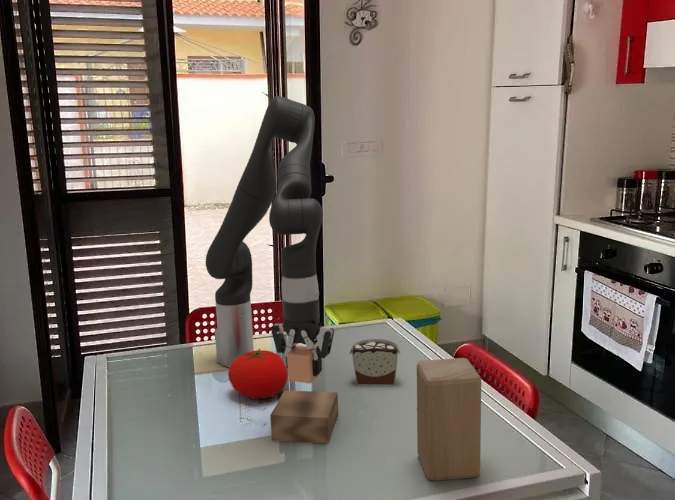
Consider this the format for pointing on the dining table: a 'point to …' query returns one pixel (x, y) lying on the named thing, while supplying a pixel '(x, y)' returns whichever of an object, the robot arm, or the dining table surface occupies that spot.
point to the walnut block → (304, 416)
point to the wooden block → (448, 418)
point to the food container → (375, 362)
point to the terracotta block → (300, 365)
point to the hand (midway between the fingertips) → (304, 373)
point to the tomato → (258, 374)
